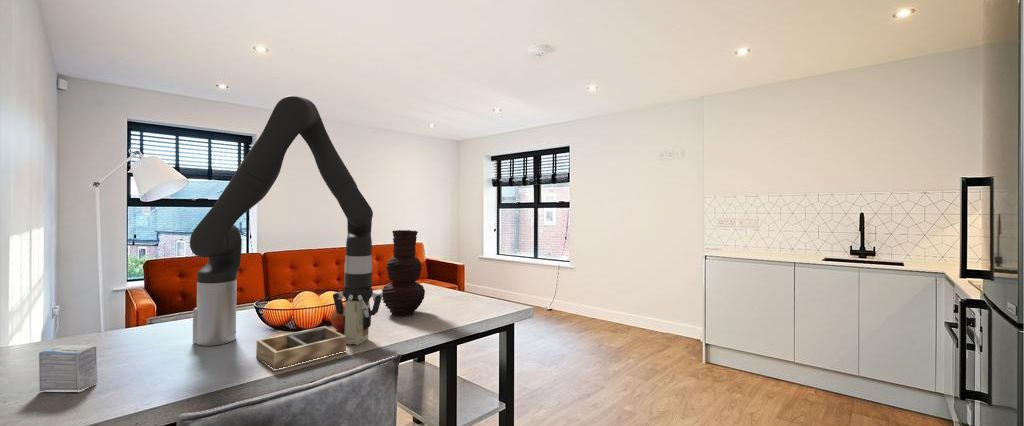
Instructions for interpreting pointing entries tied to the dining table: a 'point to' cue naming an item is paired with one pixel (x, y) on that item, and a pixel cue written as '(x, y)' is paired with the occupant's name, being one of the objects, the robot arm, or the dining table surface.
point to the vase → (403, 276)
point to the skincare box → (355, 323)
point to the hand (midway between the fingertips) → (357, 328)
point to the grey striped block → (67, 367)
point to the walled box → (300, 347)
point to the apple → (337, 320)
